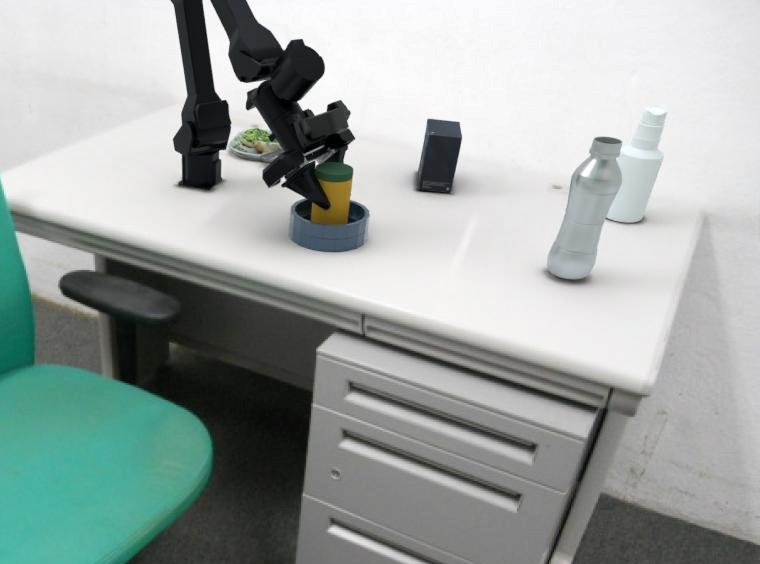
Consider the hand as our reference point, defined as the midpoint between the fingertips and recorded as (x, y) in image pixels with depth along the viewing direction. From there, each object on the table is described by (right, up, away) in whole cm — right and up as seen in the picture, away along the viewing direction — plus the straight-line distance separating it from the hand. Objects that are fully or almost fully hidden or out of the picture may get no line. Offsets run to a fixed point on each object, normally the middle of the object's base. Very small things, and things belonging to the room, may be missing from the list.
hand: (338, 203), depth 120 cm
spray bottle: (+52, +1, +15) cm, 54 cm away
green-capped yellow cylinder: (-1, -4, +4) cm, 6 cm away
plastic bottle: (+34, -12, -5) cm, 36 cm away
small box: (+22, +11, +27) cm, 37 cm away
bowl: (-1, -5, +5) cm, 7 cm away
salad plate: (-7, +22, +42) cm, 48 cm away
